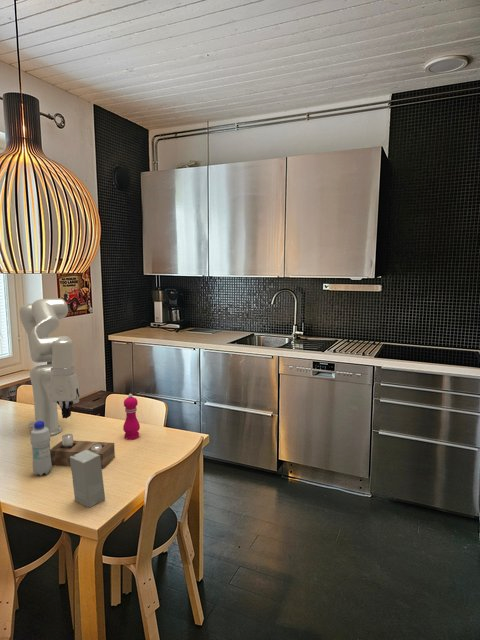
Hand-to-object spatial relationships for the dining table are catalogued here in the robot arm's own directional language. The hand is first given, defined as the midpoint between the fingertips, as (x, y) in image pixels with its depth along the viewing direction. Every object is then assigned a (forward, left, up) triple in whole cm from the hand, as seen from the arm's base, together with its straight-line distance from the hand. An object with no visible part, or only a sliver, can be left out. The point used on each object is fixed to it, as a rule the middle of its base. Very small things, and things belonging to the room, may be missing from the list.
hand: (66, 417), depth 164 cm
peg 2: (+12, 0, -18) cm, 21 cm away
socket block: (+6, 0, -18) cm, 19 cm away
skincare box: (+22, -26, -18) cm, 38 cm away
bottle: (-4, -11, -18) cm, 22 cm away
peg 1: (0, 0, -14) cm, 14 cm away
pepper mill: (+16, +25, -18) cm, 35 cm away
